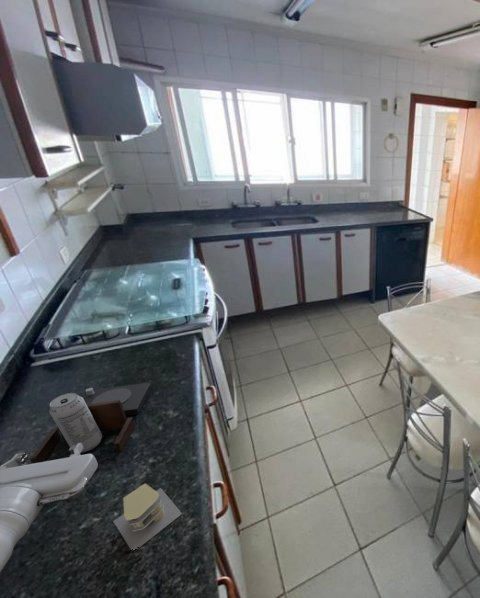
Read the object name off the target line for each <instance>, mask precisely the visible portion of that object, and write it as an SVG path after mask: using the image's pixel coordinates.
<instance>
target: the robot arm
mask: <svg viewBox="0 0 480 598" xmlns="http://www.w3.org/2000/svg"><path fill="white" fill-rule="evenodd" d="M82 450H83V445H82V443H78V444H73V445H72V447H70V446H69V449H68V452H69V453H70V455H69V457H63V458H58V459H57V458H56V459H52V460H44V462H40V463H34V464H33V463H29V464H25V463H26V461H27V460H28V459H29V455H28V453H27V452H18V453H15V454H14V455H13V457H12V458H11V459H9V460H8V461H6V462H4V463H3V464H1V465H0V573H1V572H2V571H3V569H4V568H5V566H6V565H7V563H8V562H9V560H10V559H11V557H12V555H13V552H14V549H15V546H16V544H17V543H18V542H19V541H20V540H21V539H22V538H23V537H24V536H25V535H26V533H27V532H28V530H29V529H30V527H31V526H32V524H33V523H34V521H35V519H36V518H37V517H38V515H39V514H40V512H41V510H42V509H43V507H44V505H48V504H52V503H56V502H62V501H63V502H64V501H67V500H70V499H71V497H74V496H76V495H78V494H79V493H81V492H82V491H83V490H84V488H85V486H86V485H87V483H88V482H89V481H90V480H91V478H92V477H93V475H94V474H95V472H96V471H97V469H98V466H99V463H98V461H97V458H96V457H95V455H93V453H86V454H82V452H81V451H82Z"/></svg>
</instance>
